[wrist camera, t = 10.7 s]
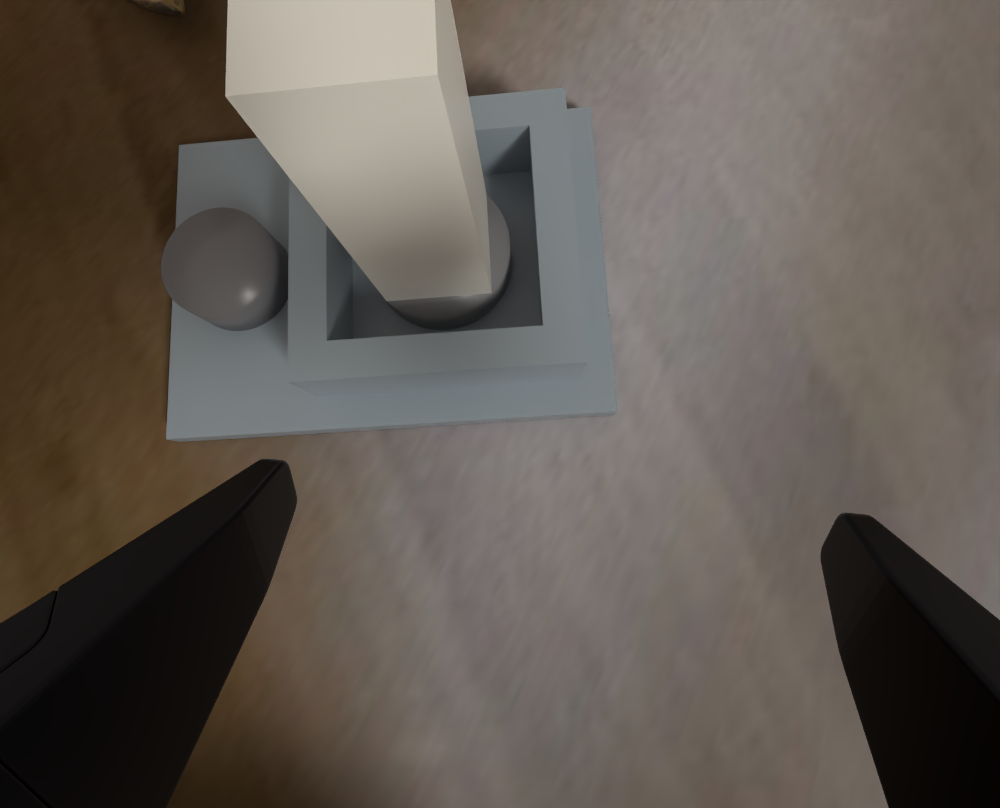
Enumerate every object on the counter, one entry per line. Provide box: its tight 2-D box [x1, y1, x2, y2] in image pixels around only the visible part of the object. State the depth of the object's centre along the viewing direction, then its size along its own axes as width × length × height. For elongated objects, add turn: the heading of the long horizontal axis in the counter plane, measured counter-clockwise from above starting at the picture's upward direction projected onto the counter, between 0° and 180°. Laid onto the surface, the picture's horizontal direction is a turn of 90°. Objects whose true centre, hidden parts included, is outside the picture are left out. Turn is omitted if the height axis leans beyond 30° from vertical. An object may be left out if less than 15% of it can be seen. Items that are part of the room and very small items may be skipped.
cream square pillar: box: [225, 0, 512, 330], centre depth 17 cm, size 6×6×13 cm
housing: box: [161, 88, 618, 442], centre depth 23 cm, size 13×18×4 cm
